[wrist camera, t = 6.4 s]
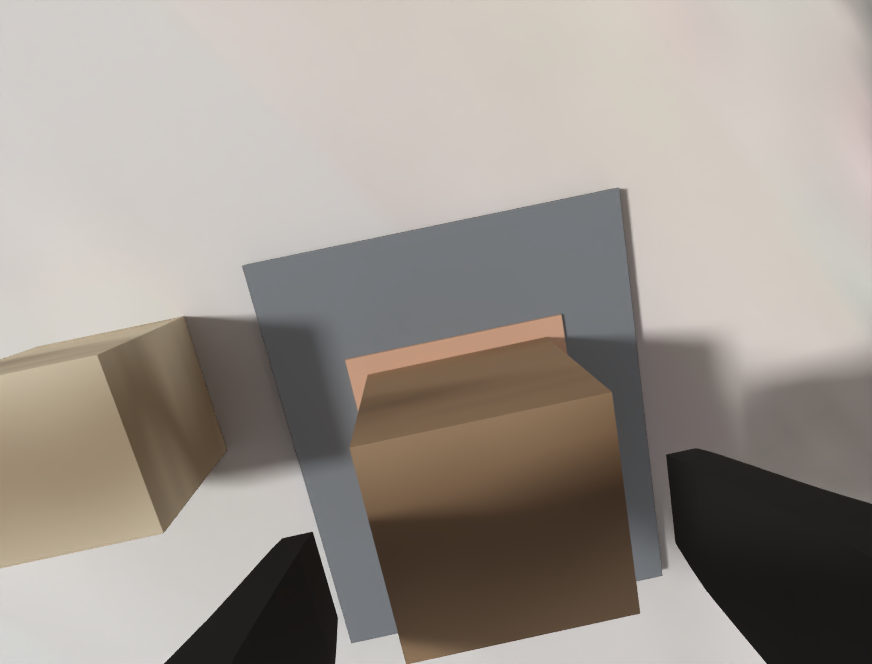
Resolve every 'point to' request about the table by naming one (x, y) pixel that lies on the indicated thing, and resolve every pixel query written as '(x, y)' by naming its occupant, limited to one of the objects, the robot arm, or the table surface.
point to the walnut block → (494, 498)
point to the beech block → (101, 440)
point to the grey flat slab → (445, 349)
